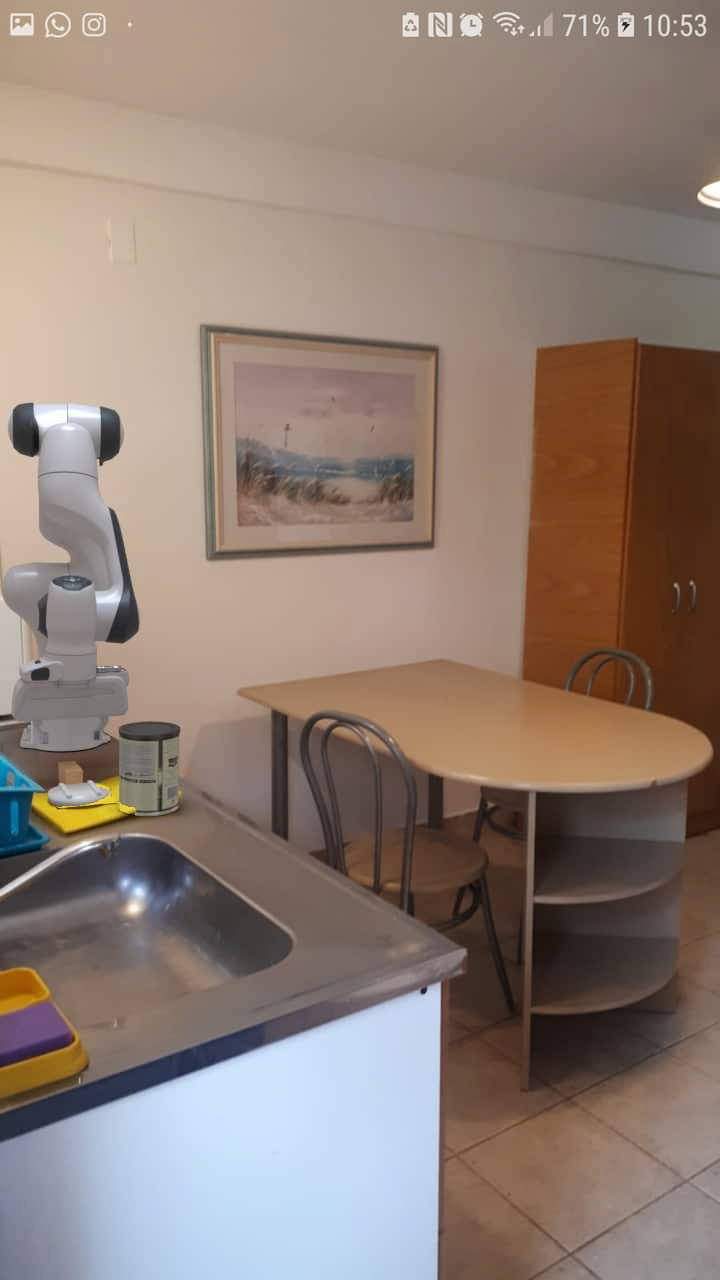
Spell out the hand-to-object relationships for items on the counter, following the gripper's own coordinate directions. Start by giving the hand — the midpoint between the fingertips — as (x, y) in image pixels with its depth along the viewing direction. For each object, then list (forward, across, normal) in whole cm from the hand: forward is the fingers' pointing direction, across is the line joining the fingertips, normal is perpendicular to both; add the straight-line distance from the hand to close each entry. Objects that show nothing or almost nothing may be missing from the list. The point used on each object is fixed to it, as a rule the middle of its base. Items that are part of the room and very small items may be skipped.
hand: (70, 741), depth 173 cm
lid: (+8, 0, +6) cm, 10 cm away
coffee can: (+8, -10, +18) cm, 22 cm away
